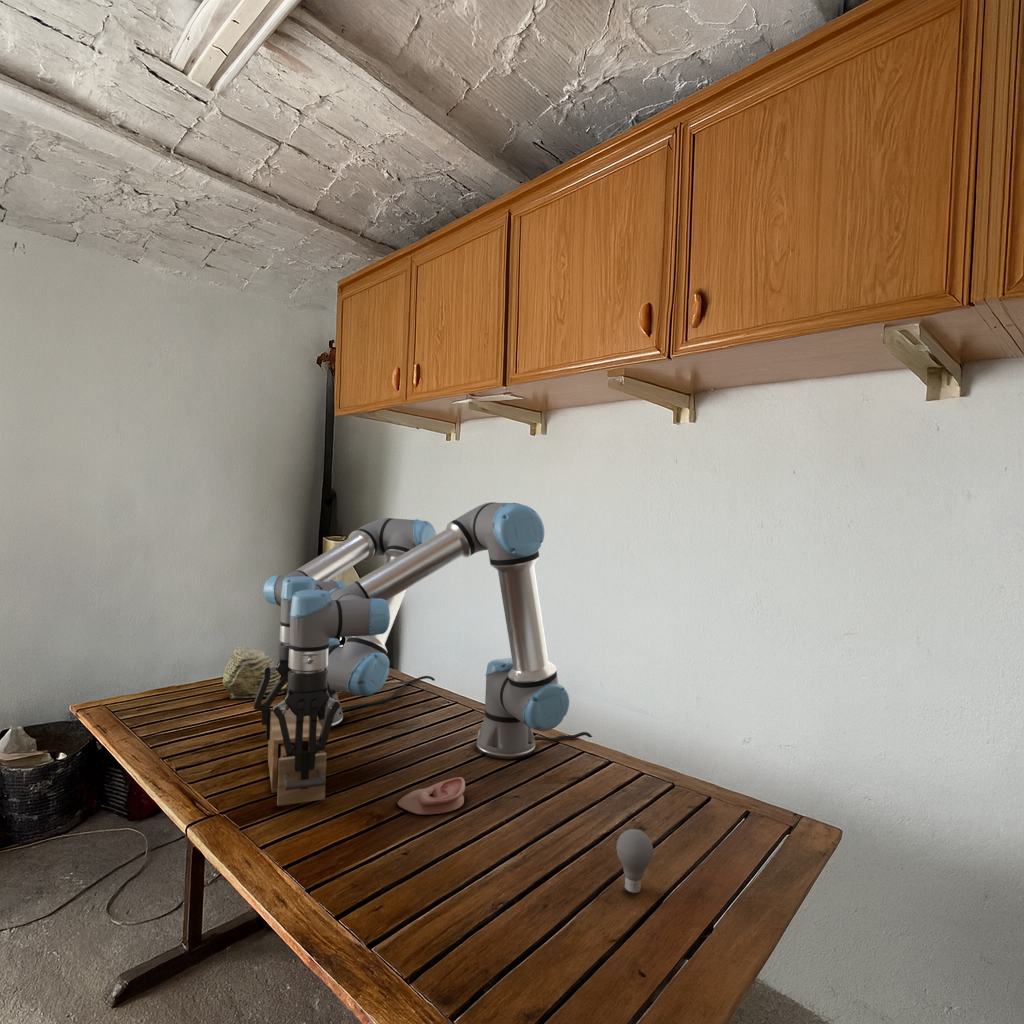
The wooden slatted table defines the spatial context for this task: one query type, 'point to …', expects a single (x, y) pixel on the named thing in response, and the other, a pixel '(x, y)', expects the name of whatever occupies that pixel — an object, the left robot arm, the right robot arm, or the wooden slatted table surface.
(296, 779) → the drawer
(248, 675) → the fossil
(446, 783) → the anatomical model
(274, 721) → the cabinet
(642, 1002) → the wooden slatted table surface
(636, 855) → the light bulb
